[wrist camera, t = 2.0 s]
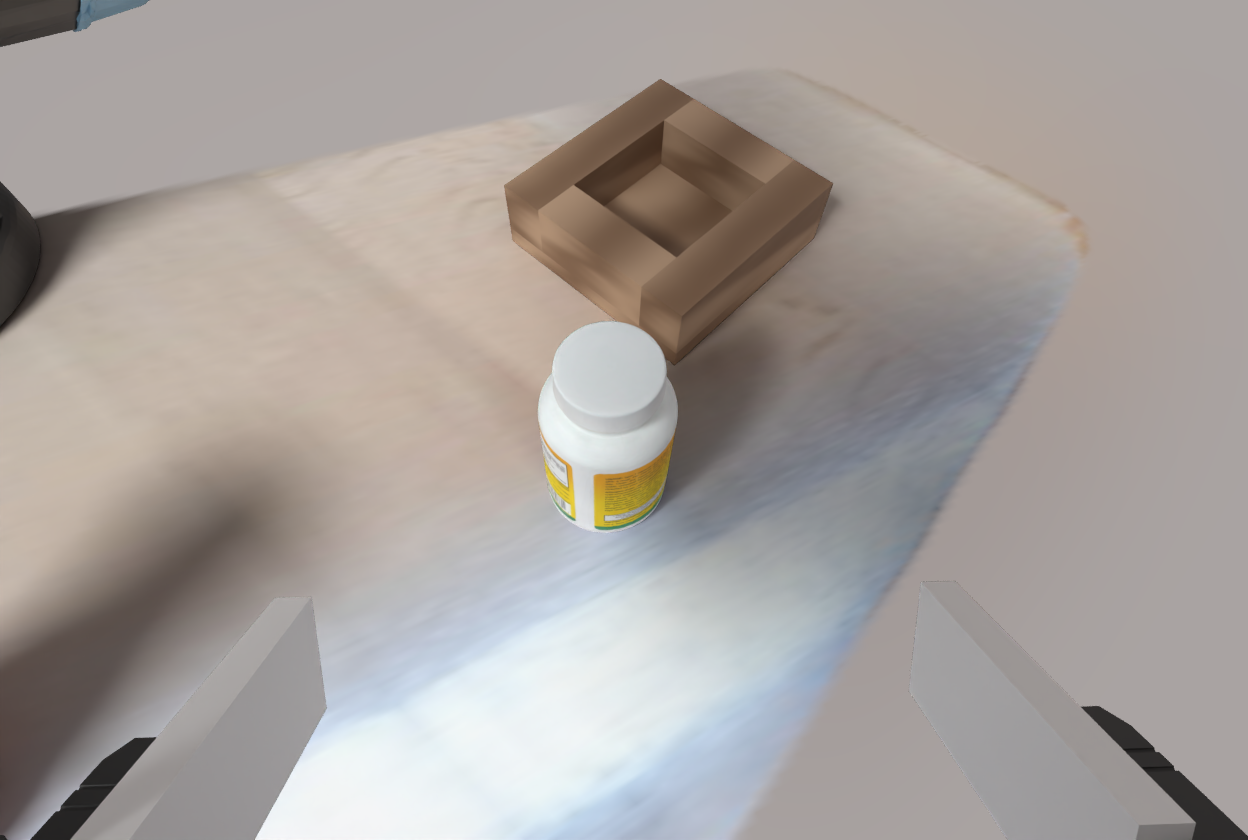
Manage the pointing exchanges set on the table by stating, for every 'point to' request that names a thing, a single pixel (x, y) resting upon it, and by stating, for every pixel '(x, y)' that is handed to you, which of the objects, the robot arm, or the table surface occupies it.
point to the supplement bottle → (607, 426)
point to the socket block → (666, 215)
